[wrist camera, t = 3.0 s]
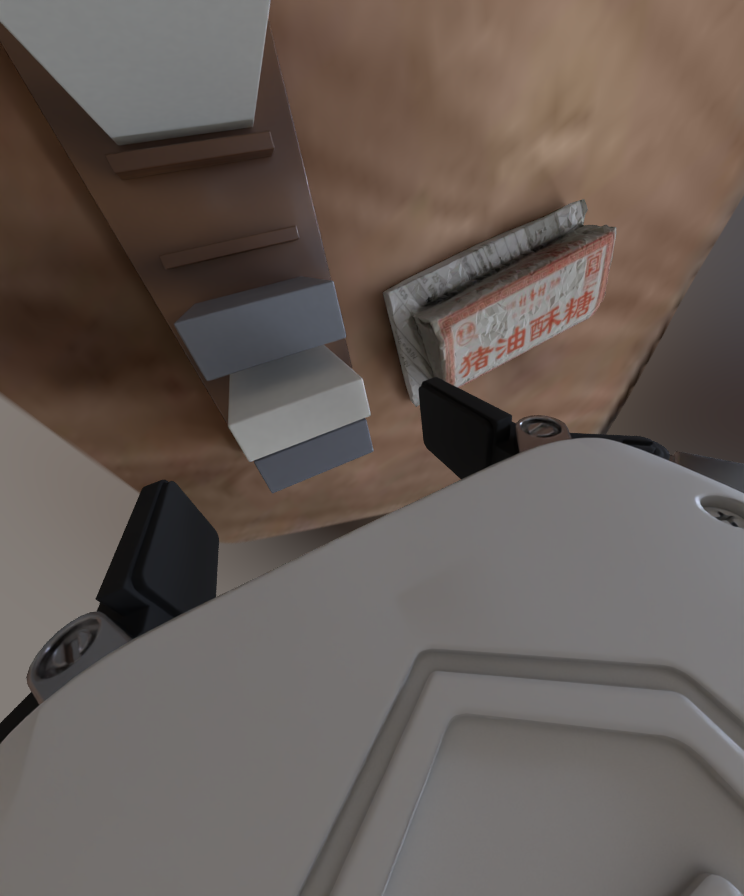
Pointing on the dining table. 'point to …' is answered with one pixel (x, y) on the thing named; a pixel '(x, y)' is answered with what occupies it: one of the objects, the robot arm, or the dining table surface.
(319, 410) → the white book
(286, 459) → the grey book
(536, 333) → the packaged product
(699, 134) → the dining table surface
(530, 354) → the dining table surface
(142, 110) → the white book
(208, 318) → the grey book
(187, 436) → the dining table surface
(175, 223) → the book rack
